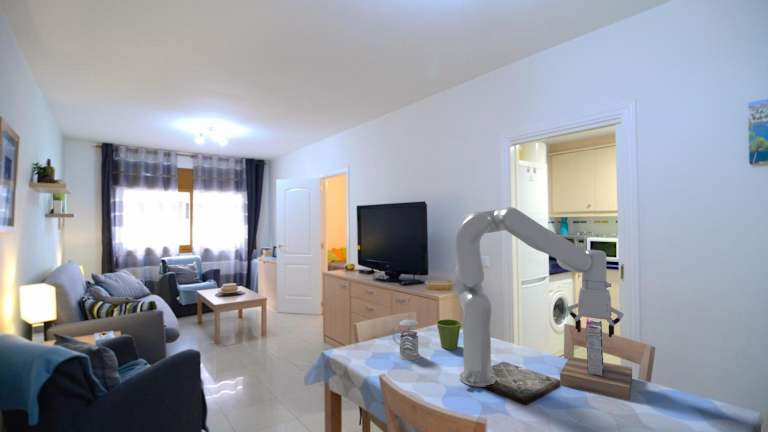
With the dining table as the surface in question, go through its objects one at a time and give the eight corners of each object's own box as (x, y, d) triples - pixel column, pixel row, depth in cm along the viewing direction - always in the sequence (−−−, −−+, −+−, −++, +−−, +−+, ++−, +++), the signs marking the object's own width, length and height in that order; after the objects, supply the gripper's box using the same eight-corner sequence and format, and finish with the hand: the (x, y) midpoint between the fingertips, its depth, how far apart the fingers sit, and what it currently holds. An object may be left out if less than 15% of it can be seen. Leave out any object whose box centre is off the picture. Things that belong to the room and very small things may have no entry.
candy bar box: (587, 363, 137) (586, 318, 137) (603, 365, 134) (602, 320, 135) (586, 374, 127) (585, 325, 127) (603, 376, 124) (602, 327, 125)
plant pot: (431, 345, 171) (430, 321, 172) (452, 341, 176) (452, 318, 177) (445, 353, 161) (445, 327, 161) (468, 349, 166) (467, 323, 166)
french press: (421, 359, 153) (420, 299, 154) (393, 360, 153) (392, 299, 154) (419, 351, 163) (419, 294, 164) (393, 352, 163) (392, 294, 164)
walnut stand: (629, 400, 116) (629, 387, 116) (560, 384, 128) (560, 373, 128) (632, 378, 133) (631, 367, 133) (570, 366, 144) (570, 356, 144)
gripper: (623, 286, 129) (624, 336, 129) (568, 281, 139) (569, 327, 139) (622, 289, 123) (622, 341, 123) (565, 284, 133) (565, 332, 133)
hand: (594, 334), depth 131 cm, fingers open, 9 cm apart
